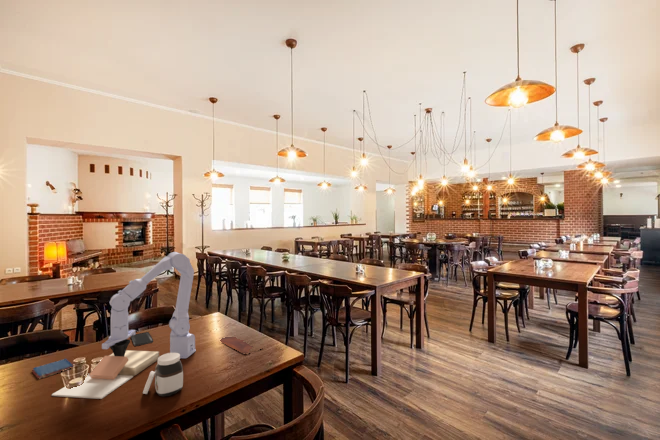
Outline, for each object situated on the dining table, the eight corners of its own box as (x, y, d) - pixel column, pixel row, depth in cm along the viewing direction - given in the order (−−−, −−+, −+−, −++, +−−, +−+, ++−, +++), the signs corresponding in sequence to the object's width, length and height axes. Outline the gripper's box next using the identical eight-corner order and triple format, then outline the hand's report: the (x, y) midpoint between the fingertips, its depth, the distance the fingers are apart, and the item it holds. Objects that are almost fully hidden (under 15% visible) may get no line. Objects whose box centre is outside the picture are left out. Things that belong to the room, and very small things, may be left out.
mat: (132, 377, 115) (132, 375, 115) (101, 398, 101) (101, 397, 101) (88, 374, 117) (88, 373, 117) (51, 395, 103) (51, 394, 103)
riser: (159, 358, 130) (159, 351, 130) (134, 375, 116) (134, 367, 116) (119, 357, 132) (119, 350, 132) (90, 373, 118) (90, 365, 118)
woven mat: (30, 373, 119) (30, 367, 119) (66, 362, 128) (66, 357, 128) (37, 381, 113) (37, 375, 113) (74, 369, 122) (74, 364, 122)
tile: (128, 360, 119) (126, 356, 118) (114, 379, 112) (112, 376, 111) (107, 359, 120) (104, 355, 119) (91, 378, 113) (89, 374, 112)
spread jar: (186, 392, 105) (186, 357, 105) (148, 406, 97) (148, 369, 97) (174, 379, 114) (174, 347, 114) (138, 391, 106) (138, 357, 106)
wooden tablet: (264, 350, 140) (264, 346, 140) (245, 357, 133) (245, 353, 133) (233, 335, 158) (233, 331, 158) (214, 340, 151) (214, 337, 151)
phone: (148, 331, 159) (153, 340, 148) (148, 333, 159) (153, 342, 148) (130, 335, 154) (134, 344, 143) (130, 337, 154) (134, 347, 143)
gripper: (124, 318, 128) (124, 351, 128) (94, 331, 114) (94, 368, 114) (140, 319, 127) (140, 352, 127) (112, 332, 113) (112, 369, 113)
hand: (119, 360), depth 120 cm, fingers closed
